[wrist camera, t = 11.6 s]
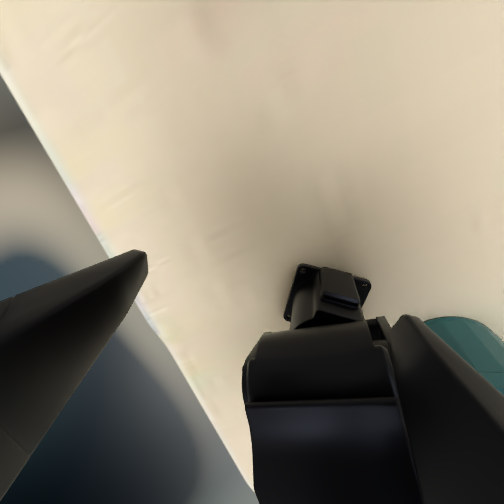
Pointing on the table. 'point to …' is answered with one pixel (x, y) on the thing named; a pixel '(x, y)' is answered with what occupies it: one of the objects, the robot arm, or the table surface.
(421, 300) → the table surface
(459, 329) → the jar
